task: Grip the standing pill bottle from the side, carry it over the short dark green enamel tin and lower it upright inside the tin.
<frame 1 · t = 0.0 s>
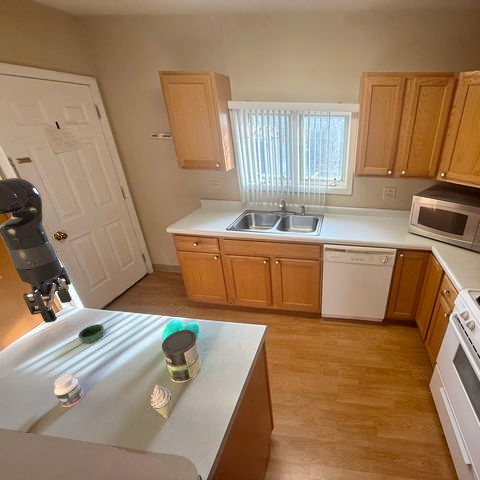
hand: (59, 311, 70), 32 cm above the counter, tool pointing down, fingers open, 8 cm apart
coffee can: (186, 370, 91), on the counter
ice cream cone: (167, 418, 76), on the counter
tin: (93, 336, 103), on the counter
pill bottle: (73, 399, 80), on the counter
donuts: (183, 343, 102), on the counter
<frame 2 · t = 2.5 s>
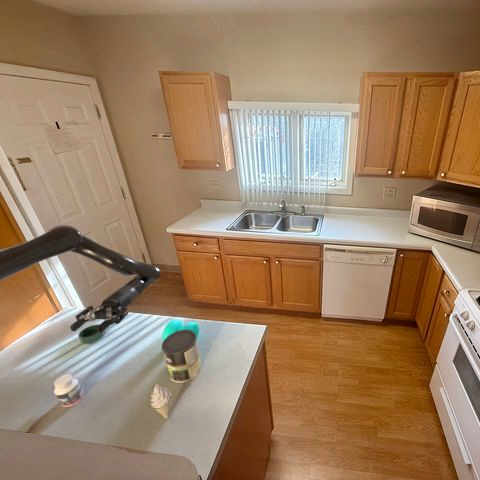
hand: (85, 330, 83), 18 cm above the counter, tool horizontal, fingers open, 8 cm apart
nothing on the counter moved.
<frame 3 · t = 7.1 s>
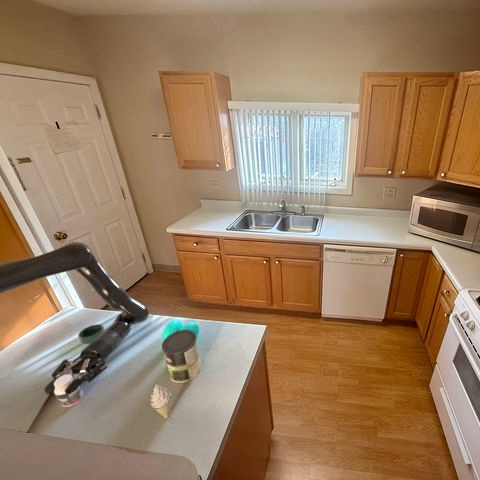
hand: (56, 392, 74), 7 cm above the counter, tool horizontal, fingers closed on pill bottle, 5 cm apart
pill bottle: (73, 399, 80), on the counter, touching gripper
everything else where it was.
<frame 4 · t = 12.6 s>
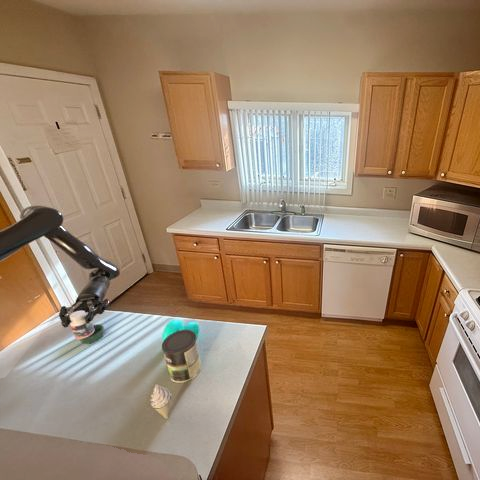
hand: (76, 323, 86), 17 cm above the counter, tool horizontal, fingers closed on pill bottle, 5 cm apart
pill bottle: (85, 334, 91), point 10 cm above the counter, touching gripper
everything else where it was.
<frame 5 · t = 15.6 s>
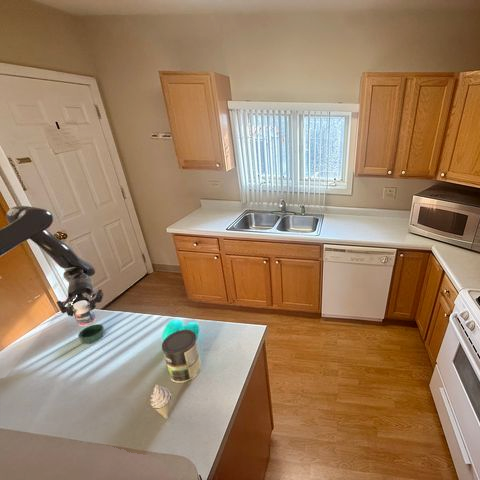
hand: (81, 310, 95), 15 cm above the counter, tool horizontal, fingers closed on pill bottle, 5 cm apart
pill bottle: (87, 322, 100), point 7 cm above the counter, touching gripper
everything else where it was.
when the fingers open (8 cm above the counter, at t = 18.0 s): pill bottle stays where it is, resting on tin.
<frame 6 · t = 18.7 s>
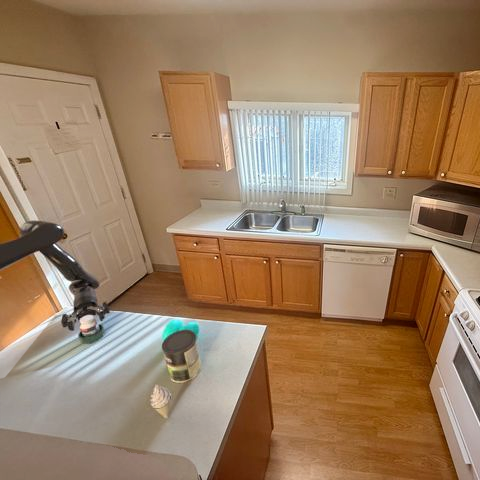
hand: (87, 323, 98), 8 cm above the counter, tool horizontal, fingers open, 8 cm apart
pill bottle: (93, 335, 103), resting on tin
everything else where it was.
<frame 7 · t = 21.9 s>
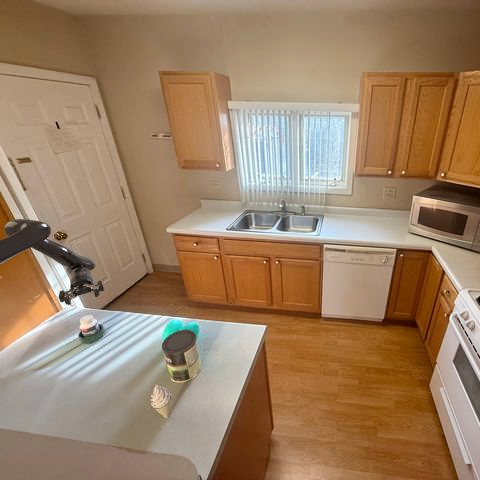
hand: (82, 299, 105), 12 cm above the counter, tool horizontal, fingers open, 8 cm apart
nothing on the counter moved.
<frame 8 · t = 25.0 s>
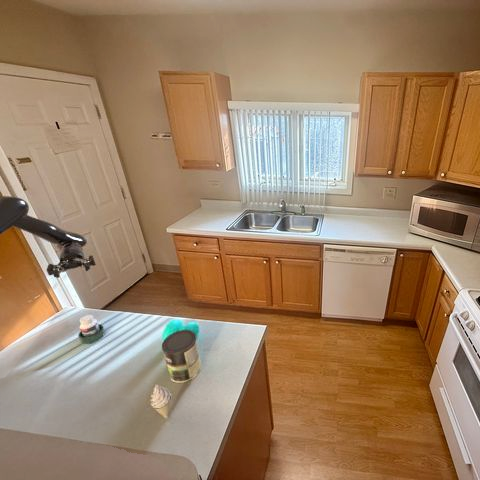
hand: (72, 272, 100), 25 cm above the counter, tool horizontal, fingers open, 8 cm apart
nothing on the counter moved.
at the end: pill bottle 0.1 cm off-centre in the tin, point 0.3 cm above the tin's base; pill bottle tilted 0°; the gripper is holding nothing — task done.
